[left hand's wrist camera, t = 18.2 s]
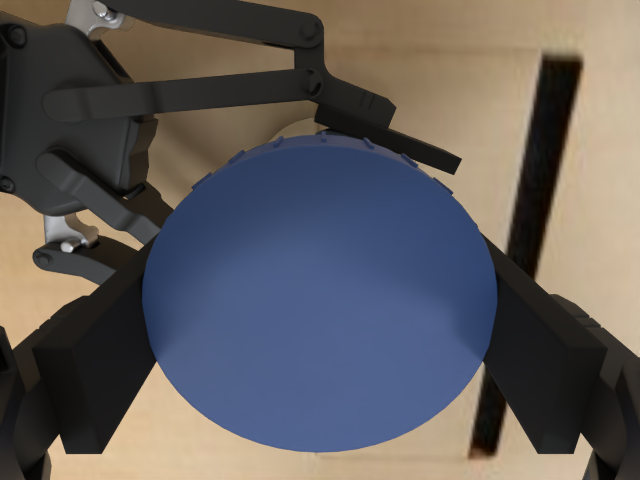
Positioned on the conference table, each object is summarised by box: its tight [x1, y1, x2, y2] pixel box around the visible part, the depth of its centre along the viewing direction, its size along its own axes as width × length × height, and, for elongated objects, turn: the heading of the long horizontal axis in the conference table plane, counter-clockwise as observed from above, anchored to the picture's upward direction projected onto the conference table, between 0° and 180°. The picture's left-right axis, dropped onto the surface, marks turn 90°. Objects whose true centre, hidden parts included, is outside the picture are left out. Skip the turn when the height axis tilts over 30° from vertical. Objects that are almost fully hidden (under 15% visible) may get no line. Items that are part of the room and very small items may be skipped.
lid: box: [142, 132, 498, 452], centre depth 11 cm, size 10×10×2 cm
